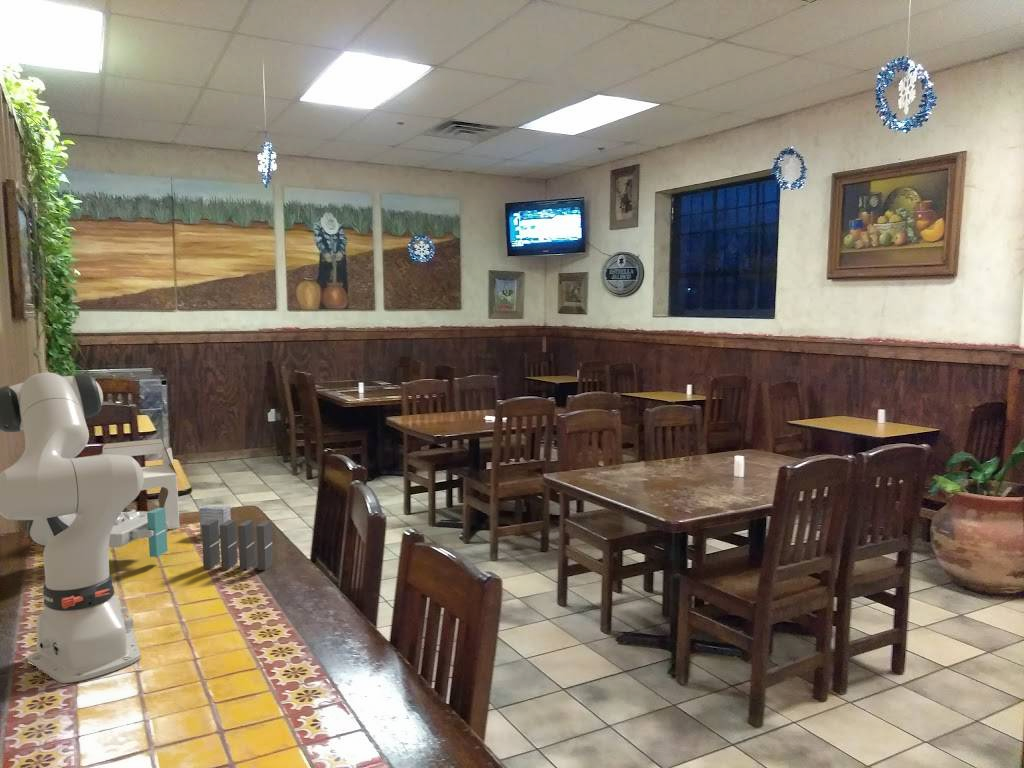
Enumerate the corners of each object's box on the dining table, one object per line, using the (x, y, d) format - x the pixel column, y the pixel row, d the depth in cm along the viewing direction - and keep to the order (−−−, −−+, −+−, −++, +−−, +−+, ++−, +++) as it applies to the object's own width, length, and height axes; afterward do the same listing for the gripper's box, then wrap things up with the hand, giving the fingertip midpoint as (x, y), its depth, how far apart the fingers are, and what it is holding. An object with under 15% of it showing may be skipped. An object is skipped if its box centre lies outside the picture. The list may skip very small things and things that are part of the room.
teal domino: (167, 550, 195) (165, 507, 194) (156, 556, 190) (154, 512, 189) (160, 550, 195) (158, 507, 194) (149, 556, 190) (147, 512, 189)
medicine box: (232, 532, 221) (230, 504, 220) (224, 536, 217) (223, 508, 216) (207, 531, 222) (206, 504, 221) (200, 536, 217) (198, 508, 217)
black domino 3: (255, 563, 194) (253, 520, 192) (247, 570, 189) (245, 525, 187) (248, 563, 194) (246, 520, 193) (239, 569, 189) (237, 525, 188)
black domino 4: (273, 564, 193) (271, 520, 192) (265, 570, 188) (263, 526, 187) (266, 563, 193) (264, 520, 192) (258, 570, 188) (256, 526, 187)
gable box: (99, 541, 213) (93, 448, 210) (95, 530, 224) (89, 441, 221) (180, 528, 226) (175, 440, 223) (173, 518, 237) (168, 434, 234)
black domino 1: (220, 562, 194) (218, 519, 193) (210, 569, 189) (208, 525, 188) (213, 562, 195) (210, 519, 193) (203, 568, 190) (201, 524, 188)
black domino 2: (237, 563, 194) (235, 519, 193) (229, 569, 189) (226, 525, 188) (230, 562, 194) (228, 519, 193) (221, 569, 189) (219, 525, 188)
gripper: (84, 528, 183) (136, 529, 181) (134, 507, 203) (180, 508, 202) (86, 552, 183) (137, 553, 182) (135, 529, 204) (181, 530, 202)
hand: (160, 529), depth 192 cm, fingers closed on teal domino, 5 cm apart
